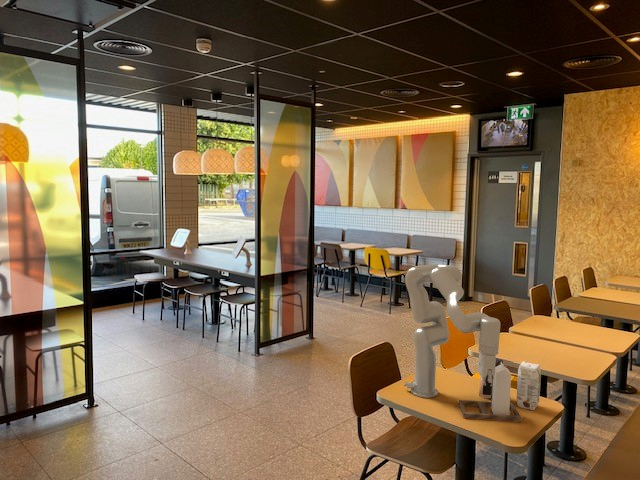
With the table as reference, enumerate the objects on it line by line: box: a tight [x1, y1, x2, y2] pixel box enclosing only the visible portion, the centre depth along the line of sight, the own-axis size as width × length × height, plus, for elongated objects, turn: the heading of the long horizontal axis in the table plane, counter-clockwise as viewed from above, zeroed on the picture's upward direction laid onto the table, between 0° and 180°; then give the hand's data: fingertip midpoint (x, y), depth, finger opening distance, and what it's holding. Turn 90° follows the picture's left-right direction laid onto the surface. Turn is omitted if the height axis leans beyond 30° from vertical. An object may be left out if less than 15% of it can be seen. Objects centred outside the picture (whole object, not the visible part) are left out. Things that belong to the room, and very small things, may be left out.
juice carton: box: [516, 361, 542, 411], centre depth 210 cm, size 8×9×19 cm
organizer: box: [458, 399, 522, 423], centre depth 204 cm, size 23×13×2 cm, turn 82°
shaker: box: [478, 375, 492, 399], centre depth 193 cm, size 5×5×9 cm
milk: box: [491, 362, 512, 415], centre depth 203 cm, size 6×6×22 cm
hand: (485, 391), depth 193 cm, fingers closed on shaker, 4 cm apart
